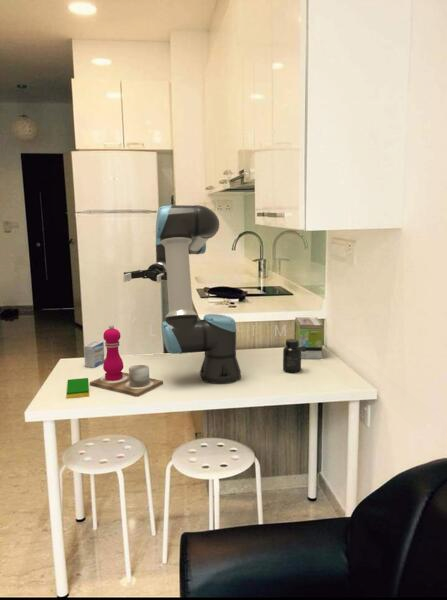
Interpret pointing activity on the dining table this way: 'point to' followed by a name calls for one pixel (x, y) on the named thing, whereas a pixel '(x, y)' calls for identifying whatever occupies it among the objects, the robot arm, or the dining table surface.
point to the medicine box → (94, 354)
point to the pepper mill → (112, 355)
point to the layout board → (122, 386)
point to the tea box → (309, 337)
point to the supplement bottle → (292, 356)
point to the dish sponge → (77, 388)
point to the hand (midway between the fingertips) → (140, 278)
